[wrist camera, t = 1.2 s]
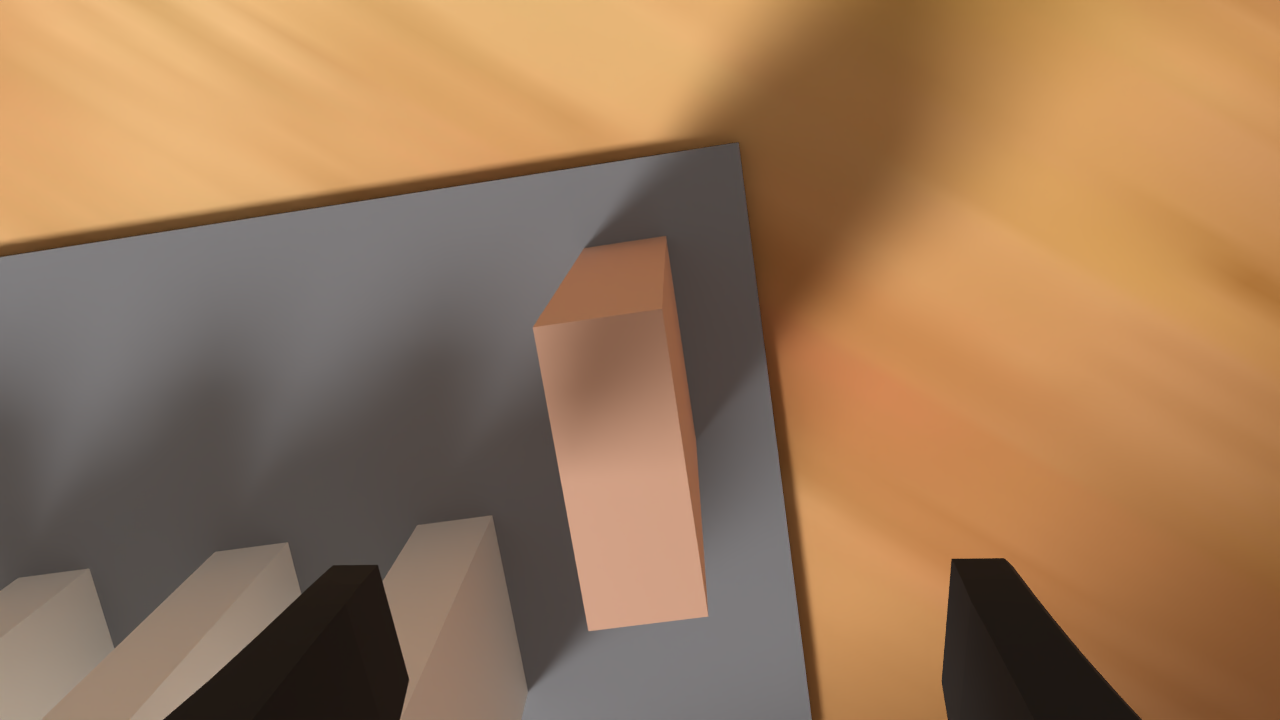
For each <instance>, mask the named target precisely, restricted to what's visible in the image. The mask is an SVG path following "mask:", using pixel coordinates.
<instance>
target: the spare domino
mask: <svg viewBox="0 0 1280 720" xmlns="http://www.w3.org/2000/svg"><path fill="white" fill-rule="evenodd" d="M533 332H534V337H535V343H536V348H537V353H538V359H539V364H540V370H541V375H542V381H543V386H544V392H545V397H546V403H547V408H548V413H549V419H550V424H551V430H552V435H553V441H554V446H555V452H556V457H557V462H558V468H559V473H560V479H561V484H562V490H563V495H564V501H565V506H566V512H567V517H568V522H569V528H570V533H571V539H572V544H573V550H574V555H575V561H576V566H577V571H578V577H579V582H580V588H581V593H582V599H583V604H584V610H585V615H586V621H587V626H588V631H594V630H603V629H611V628H619V627H627V626H635V625H643V624H652V623H660V622H668V621H676V620H684V619H692V618H700V617H708V604H707V590H706V575H705V561H704V547H703V532H702V518H701V504H700V489H699V475H698V460H697V446H696V436H695V429H694V422H693V416H692V409H691V402H690V395H689V388H688V382H687V375H686V368H685V361H684V354H683V348H682V341H681V334H680V327H679V320H678V314H677V307H676V300H675V293H674V286H673V280H672V273H671V266H670V259H669V252H668V246H667V239H666V236H662V237H655V238H648V239H641V240H635V241H628V242H621V243H615V244H608V245H601V246H595V247H588V248H584V249H583V250H582V252H581V254H580V255H579V257H578V258H577V260H576V261H575V263H574V264H573V266H572V267H571V269H570V271H569V272H568V274H567V275H566V277H565V278H564V280H563V281H562V283H561V284H560V286H559V288H558V289H557V291H556V292H555V294H554V295H553V297H552V298H551V300H550V301H549V303H548V305H547V306H546V308H545V309H544V311H543V312H542V314H541V315H540V317H539V318H538V320H537V322H536V323H535V325H534V326H533Z"/></svg>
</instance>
